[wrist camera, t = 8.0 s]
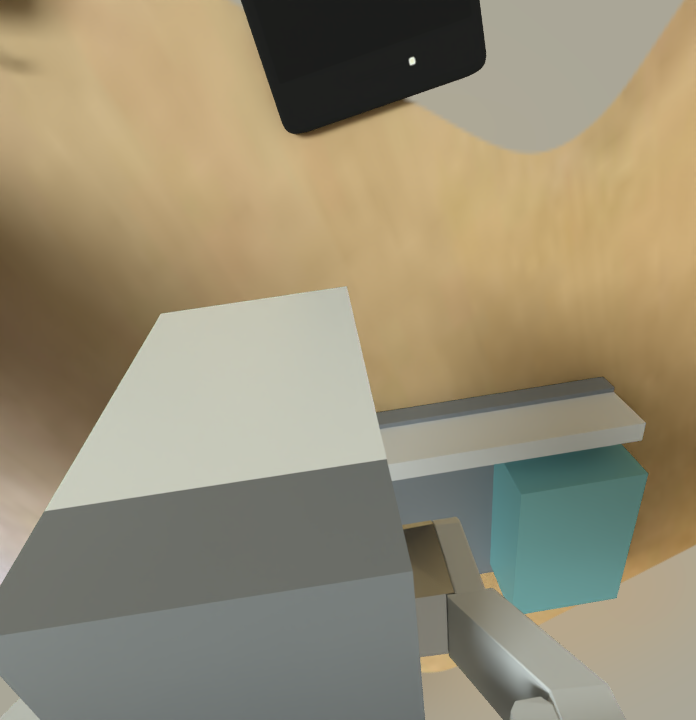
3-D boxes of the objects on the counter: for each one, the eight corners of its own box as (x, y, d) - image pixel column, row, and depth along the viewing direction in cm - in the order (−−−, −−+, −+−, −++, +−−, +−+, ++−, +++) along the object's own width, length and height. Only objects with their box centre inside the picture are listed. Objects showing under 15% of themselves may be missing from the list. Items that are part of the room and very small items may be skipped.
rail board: (603, 376, 29) (659, 430, 25) (574, 543, 37) (614, 607, 32) (188, 442, 29) (170, 509, 24) (246, 598, 36) (240, 671, 32)
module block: (346, 286, 10) (412, 570, 4) (382, 558, 15) (439, 883, 9) (161, 313, 10) (-32, 639, 4) (252, 579, 15) (222, 919, 9)
